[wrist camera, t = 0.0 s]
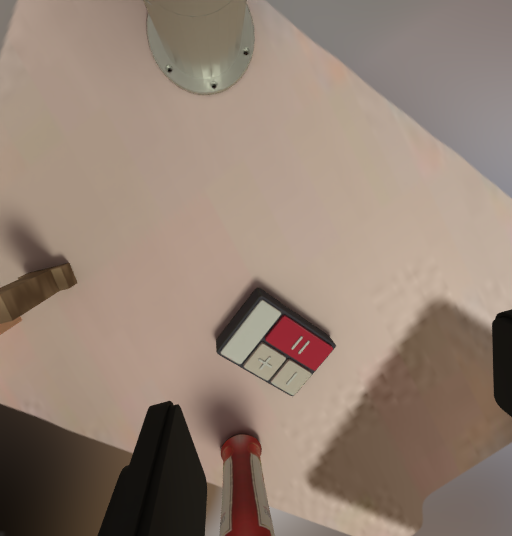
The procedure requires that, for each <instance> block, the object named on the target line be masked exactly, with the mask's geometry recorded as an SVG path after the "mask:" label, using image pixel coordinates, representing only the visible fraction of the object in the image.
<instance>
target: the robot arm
mask: <svg viewBox="0 0 512 536" xmlns="http://www.w3.org/2000/svg"><path fill="white" fill-rule="evenodd" d="M143 1H144V3H145V6H146V8H147V10H148V16H147V37H148V42H149V46H150V49H151V52H152V54H153V57H154V59H155V61H156V63H157V65H158V66H159V68H160V69H161V70H162V72H163V73H164V75H165V76H166V77H167V78H168V79H169V80H170V81H171V82H173V83H174V84H175V85H177V86H178V87H179V88H181V89H183V90H186V91H188V92H190V93H194V94H198V95H212V94H217V93H220V92H223V91H225V90H227V89H229V88H230V87H232V86H233V85H235V84H236V83H237V82H238V80H239V79H240V78H241V77H242V76H243V74H244V73H245V71H246V70H247V68H248V65H249V63H250V61H251V58H252V54H253V48H254V40H255V39H254V25H253V20H252V16H251V13H250V11H249V8H248V5H247V4H246V1H247V0H143ZM244 52H247V53H248V55H244ZM169 69H171V70H172V72H171V73H169V72H168V70H169ZM212 85H215V86H216V88H215V89H213V88H212ZM492 337H493V378H494V398H495V400H496V402H497V404H498V405H499V406H500V408H501V409H503V410H504V411H505V412H506V413H507V414H509V415H510V416H511V417H512V310H508V311H504V312H501V313H499V314H497V316H496V318H495V320H494V321H493V323H492ZM206 501H207V483H206V477H205V474H204V471H203V468H202V466H201V463H200V460H199V457H198V454H197V452H196V449H195V446H194V443H193V441H192V438H191V435H190V432H189V430H188V427H187V424H186V421H185V418H184V416H183V413H182V410H181V408H180V406H179V405H178V404H177V405H173V403H172V402H171V401H167V402H164V403H160V404H156V405H152V406H150V407H149V409H148V411H147V414H146V417H145V420H144V423H143V426H142V429H141V432H140V435H139V438H138V441H137V444H136V447H135V449H134V452H133V455H132V459H131V462H130V464H129V465H128V466H125V467H124V468H123V469H122V471H121V473H120V475H119V478H118V481H117V484H116V486H115V489H114V492H113V494H112V497H111V500H110V503H109V506H108V508H107V511H106V514H105V517H104V519H103V522H102V525H101V528H100V531H99V533H98V536H205V519H206Z"/></svg>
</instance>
